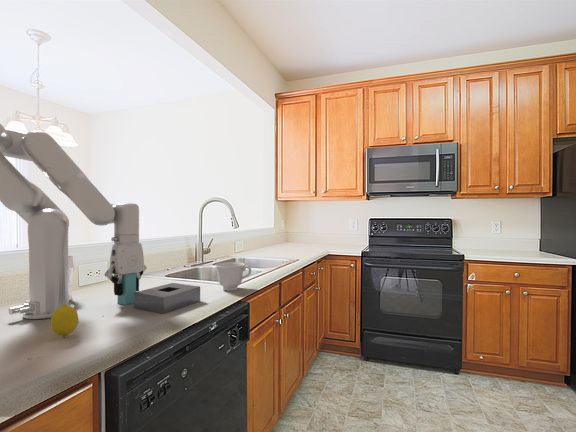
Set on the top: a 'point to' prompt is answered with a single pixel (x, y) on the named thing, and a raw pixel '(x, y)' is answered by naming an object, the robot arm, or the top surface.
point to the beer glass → (70, 275)
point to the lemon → (64, 320)
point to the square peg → (127, 289)
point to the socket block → (166, 297)
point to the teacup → (231, 274)
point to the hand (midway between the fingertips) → (126, 292)
